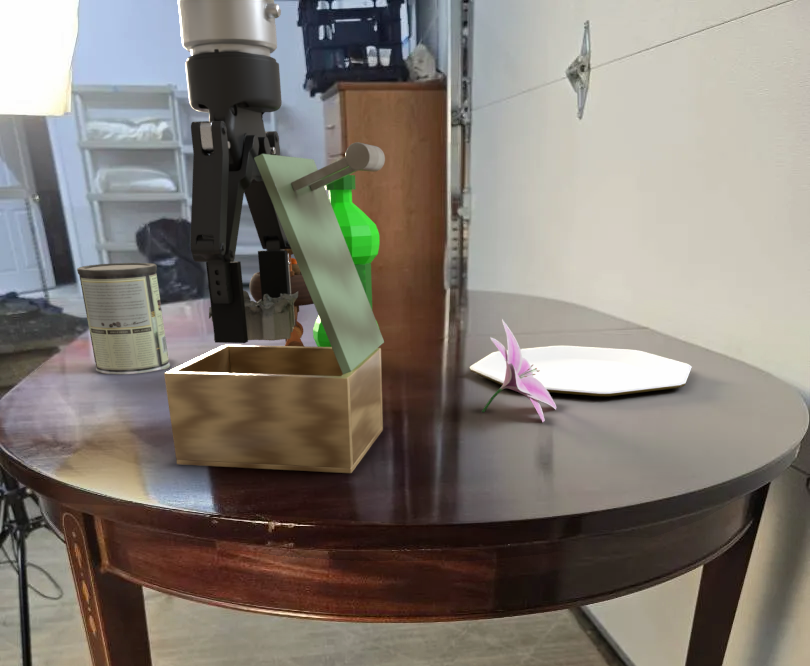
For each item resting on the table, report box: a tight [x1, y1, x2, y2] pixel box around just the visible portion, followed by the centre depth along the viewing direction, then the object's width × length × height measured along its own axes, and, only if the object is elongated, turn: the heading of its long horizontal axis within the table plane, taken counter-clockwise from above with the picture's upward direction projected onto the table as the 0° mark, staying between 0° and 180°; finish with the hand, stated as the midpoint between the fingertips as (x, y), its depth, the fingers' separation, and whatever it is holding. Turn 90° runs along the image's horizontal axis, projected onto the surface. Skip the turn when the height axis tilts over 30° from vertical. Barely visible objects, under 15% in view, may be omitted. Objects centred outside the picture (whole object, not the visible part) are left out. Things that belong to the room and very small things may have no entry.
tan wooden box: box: [163, 344, 384, 474], centre depth 74 cm, size 17×14×9 cm
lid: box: [254, 141, 386, 374], centre depth 67 cm, size 18×14×8 cm
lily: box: [481, 319, 557, 423], centre depth 84 cm, size 12×12×10 cm
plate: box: [469, 345, 693, 397], centre depth 103 cm, size 28×28×2 cm
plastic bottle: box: [312, 174, 381, 347], centre depth 111 cm, size 10×10×25 cm
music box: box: [249, 249, 314, 346], centre depth 97 cm, size 15×11×20 cm
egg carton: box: [208, 289, 298, 342], centre depth 71 cm, size 11×8×4 cm
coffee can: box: [76, 262, 171, 375], centre depth 108 cm, size 10×10×14 cm
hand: (256, 330), depth 72 cm, fingers closed on egg carton, 11 cm apart
